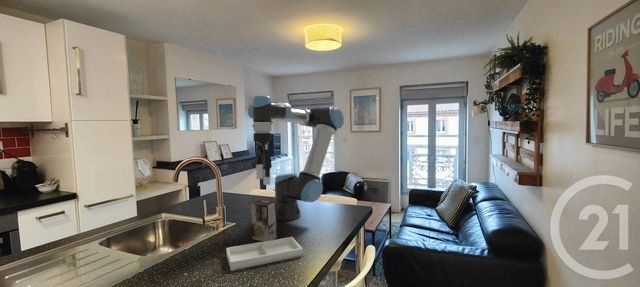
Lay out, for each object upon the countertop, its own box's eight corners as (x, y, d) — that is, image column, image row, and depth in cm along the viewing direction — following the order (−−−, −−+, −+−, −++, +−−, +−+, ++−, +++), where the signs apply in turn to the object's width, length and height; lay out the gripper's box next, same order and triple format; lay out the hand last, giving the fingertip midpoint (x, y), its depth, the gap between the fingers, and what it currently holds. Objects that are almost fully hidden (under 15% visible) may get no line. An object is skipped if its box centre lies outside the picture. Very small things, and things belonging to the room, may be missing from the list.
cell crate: (226, 255, 112) (226, 248, 112) (292, 243, 123) (292, 236, 122) (230, 270, 100) (230, 262, 100) (302, 256, 111) (302, 248, 111)
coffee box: (277, 237, 130) (276, 201, 129) (268, 242, 124) (268, 205, 123) (260, 234, 133) (259, 199, 132) (251, 239, 128) (250, 202, 127)
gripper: (248, 131, 135) (248, 177, 137) (260, 133, 112) (261, 188, 114) (264, 131, 138) (264, 176, 140) (279, 133, 116) (279, 186, 117)
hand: (263, 181), depth 127 cm, fingers open, 13 cm apart
